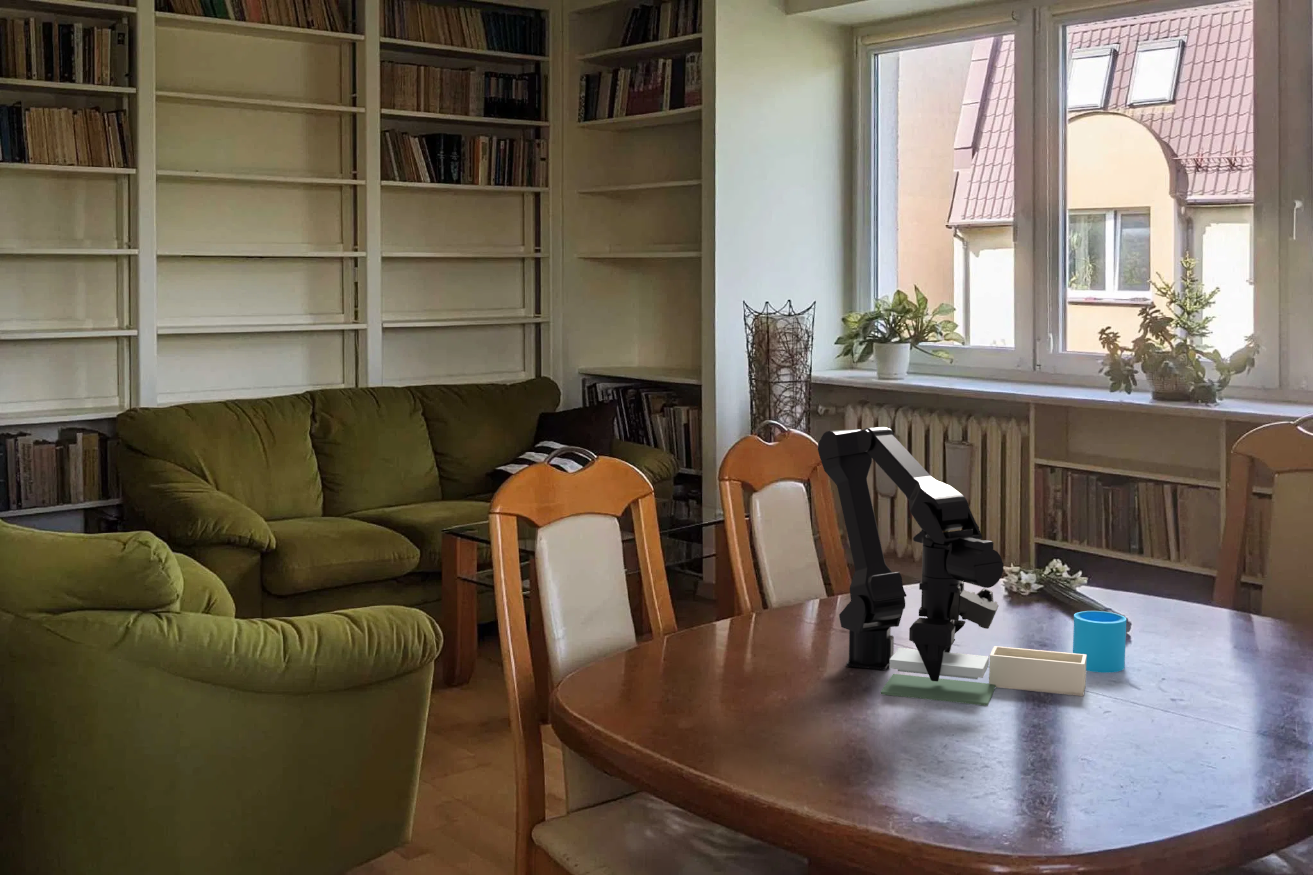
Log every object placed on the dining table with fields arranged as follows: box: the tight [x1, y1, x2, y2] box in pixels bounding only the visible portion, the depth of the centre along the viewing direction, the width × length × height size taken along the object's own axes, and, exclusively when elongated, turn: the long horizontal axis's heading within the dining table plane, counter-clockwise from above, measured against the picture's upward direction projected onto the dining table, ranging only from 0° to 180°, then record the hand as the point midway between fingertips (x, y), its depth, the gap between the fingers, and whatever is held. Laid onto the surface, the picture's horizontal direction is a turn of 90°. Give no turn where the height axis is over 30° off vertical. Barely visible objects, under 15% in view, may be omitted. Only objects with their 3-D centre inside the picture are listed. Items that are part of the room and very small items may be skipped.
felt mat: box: [880, 673, 997, 707], centre depth 207 cm, size 16×10×1 cm, turn 69°
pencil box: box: [988, 645, 1087, 697], centre depth 208 cm, size 14×6×5 cm, turn 69°
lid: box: [888, 647, 990, 680], centre depth 206 cm, size 14×7×2 cm, turn 69°
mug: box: [1072, 610, 1127, 674], centre depth 221 cm, size 12×8×8 cm
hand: (938, 674), depth 206 cm, fingers closed on lid, 7 cm apart
